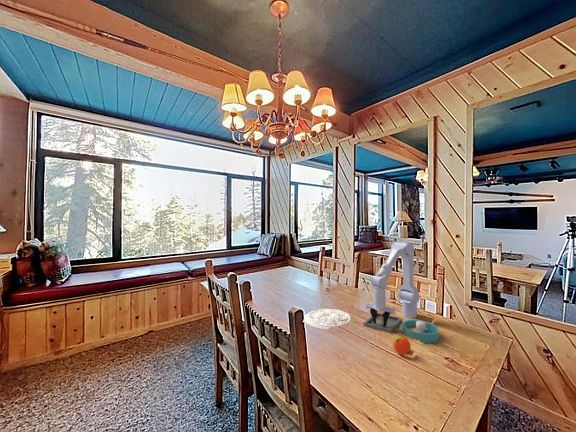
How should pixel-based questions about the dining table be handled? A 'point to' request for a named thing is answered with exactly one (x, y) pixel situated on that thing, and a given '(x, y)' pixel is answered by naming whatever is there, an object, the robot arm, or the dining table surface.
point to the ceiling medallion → (326, 318)
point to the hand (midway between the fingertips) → (380, 324)
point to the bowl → (426, 337)
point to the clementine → (401, 345)
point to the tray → (390, 326)
